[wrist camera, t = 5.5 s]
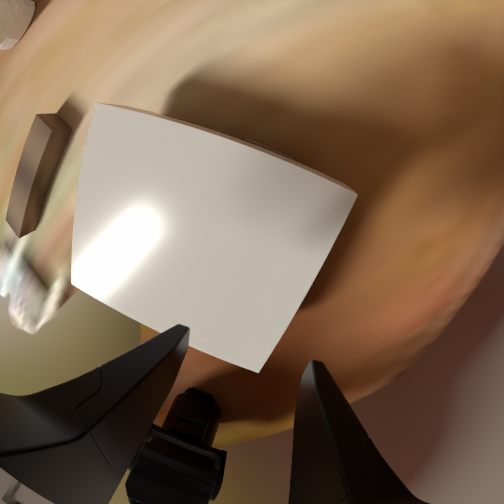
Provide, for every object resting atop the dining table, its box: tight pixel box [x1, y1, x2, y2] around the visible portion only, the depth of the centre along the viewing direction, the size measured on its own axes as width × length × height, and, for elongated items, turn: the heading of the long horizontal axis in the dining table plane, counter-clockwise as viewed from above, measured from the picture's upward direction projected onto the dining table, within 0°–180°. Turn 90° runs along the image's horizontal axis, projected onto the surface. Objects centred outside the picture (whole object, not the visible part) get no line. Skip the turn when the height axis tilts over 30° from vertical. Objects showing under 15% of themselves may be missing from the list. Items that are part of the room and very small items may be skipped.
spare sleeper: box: [6, 113, 72, 238], centre depth 19 cm, size 12×3×3 cm, turn 139°
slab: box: [71, 103, 358, 373], centre depth 15 cm, size 12×14×3 cm
